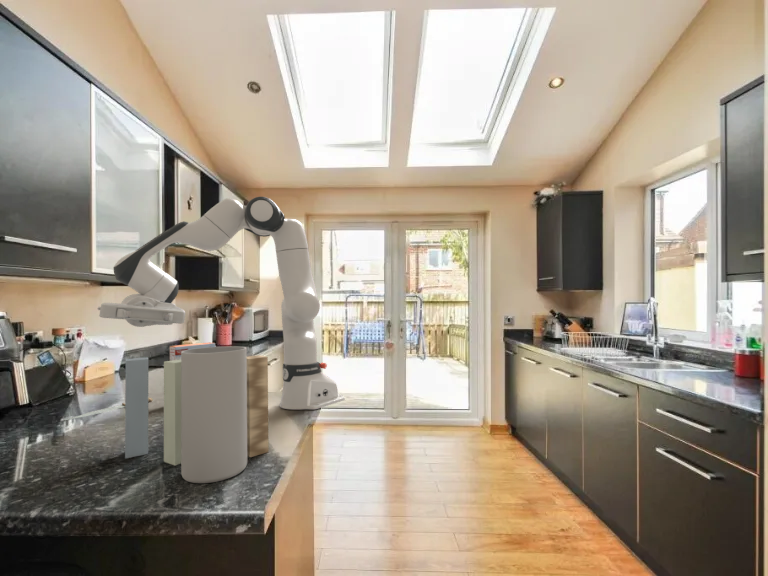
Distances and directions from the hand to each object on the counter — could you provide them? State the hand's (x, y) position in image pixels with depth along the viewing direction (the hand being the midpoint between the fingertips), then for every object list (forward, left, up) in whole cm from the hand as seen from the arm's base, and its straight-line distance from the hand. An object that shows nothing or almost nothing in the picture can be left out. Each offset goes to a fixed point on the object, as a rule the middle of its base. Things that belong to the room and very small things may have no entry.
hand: (148, 316), depth 102 cm
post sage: (-2, +21, -32) cm, 38 cm away
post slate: (+4, +9, -32) cm, 33 cm away
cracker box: (-21, -33, -32) cm, 50 cm away
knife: (+2, -43, -33) cm, 54 cm away
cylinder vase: (-5, +33, -32) cm, 47 cm away
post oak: (-16, +29, -32) cm, 46 cm away
